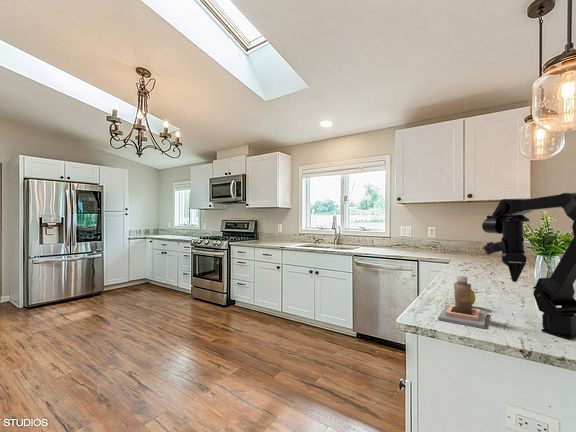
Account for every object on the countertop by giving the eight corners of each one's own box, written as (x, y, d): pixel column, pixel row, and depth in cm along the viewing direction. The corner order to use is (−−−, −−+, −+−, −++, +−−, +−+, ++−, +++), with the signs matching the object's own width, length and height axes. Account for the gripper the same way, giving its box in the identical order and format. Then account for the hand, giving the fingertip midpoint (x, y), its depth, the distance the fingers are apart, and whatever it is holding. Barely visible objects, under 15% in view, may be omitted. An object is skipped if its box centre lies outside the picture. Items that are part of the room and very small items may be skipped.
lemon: (475, 310, 104) (475, 288, 104) (458, 308, 107) (458, 287, 107) (475, 306, 109) (474, 285, 109) (458, 304, 112) (458, 284, 112)
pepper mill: (475, 315, 96) (473, 277, 96) (465, 317, 94) (463, 279, 94) (462, 310, 101) (460, 275, 101) (452, 313, 99) (450, 276, 99)
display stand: (487, 314, 100) (487, 307, 100) (484, 328, 87) (484, 321, 87) (446, 307, 108) (446, 301, 108) (438, 320, 95) (438, 313, 95)
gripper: (486, 232, 109) (487, 272, 109) (482, 235, 95) (484, 281, 95) (523, 233, 102) (524, 275, 102) (525, 236, 88) (527, 285, 88)
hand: (514, 279), depth 97 cm, fingers open, 9 cm apart
